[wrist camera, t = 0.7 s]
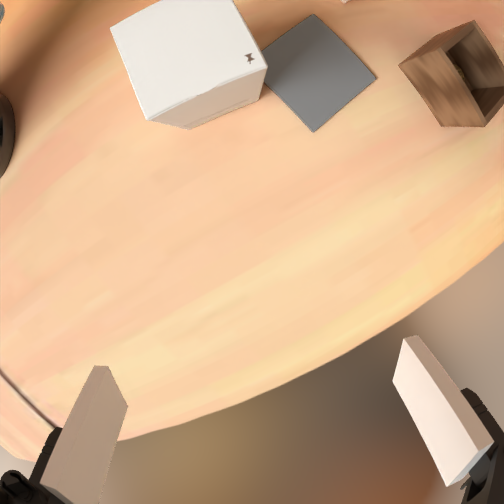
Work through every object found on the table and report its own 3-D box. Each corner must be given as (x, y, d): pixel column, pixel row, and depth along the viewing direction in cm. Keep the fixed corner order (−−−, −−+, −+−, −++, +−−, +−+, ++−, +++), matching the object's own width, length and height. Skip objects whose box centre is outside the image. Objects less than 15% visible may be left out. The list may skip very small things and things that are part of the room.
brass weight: (431, 73, 28) (444, 70, 25) (442, 64, 27) (455, 60, 25) (444, 92, 29) (457, 89, 26) (454, 82, 28) (467, 79, 25)
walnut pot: (398, 65, 29) (436, 50, 20) (436, 35, 27) (474, 19, 18) (441, 126, 31) (484, 127, 23) (474, 92, 29) (515, 88, 21)
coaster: (245, 65, 29) (245, 64, 28) (312, 15, 27) (313, 13, 26) (312, 132, 32) (313, 132, 31) (374, 79, 30) (376, 78, 29)
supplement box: (229, 37, 28) (222, -28, 14) (260, 101, 31) (273, 67, 17) (157, 68, 29) (105, 25, 15) (186, 132, 32) (145, 123, 17)
